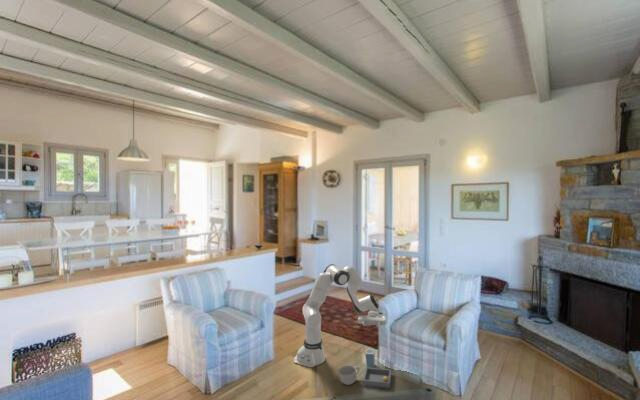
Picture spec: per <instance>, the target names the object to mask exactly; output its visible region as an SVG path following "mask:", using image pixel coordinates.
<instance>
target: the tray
mask: <svg viewBox="0 0 640 400" xmlns="http://www.w3.org/2000/svg"><path fill="white" fill-rule="evenodd" d="M392 374H393V373H392V369H391V368H379V367H375V368H370V367H367V366H366V367H365V371H364V374H363V379H362V386H363V387H368V388H369V387H370V388H378V389H386V388H389V389H388V390H390V389H391V383H392ZM384 376H386V377H387V378H388V381H387V382H384V381H383V377H384Z"/></svg>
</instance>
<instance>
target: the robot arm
mask: <svg viewBox="0 0 640 400" xmlns="http://www.w3.org/2000/svg"><path fill="white" fill-rule="evenodd" d="M333 283H335V284H336V285H338V286H344V285H346V284H347V287H346V290H347V294H348V297H349V299H350V301H351V303H352V305H353V308H354V311H355V312H356V313H357V314H361V315H359V316H358V318H357V324H359V325H361V324H362V325H363V326H364V327H366V325H372V326H373V325H374V326H376V328H379V327H380V326H387V318H386V314H385V313H383V312H381V307H380V305H379V304H380V303H379V300H378V299H377V297H376V296H374V295H372V294H368V295H366V296H364V297H361V298H357V296H356V293H357V291H359V289H360V288H361V287H362V285H363V279H362V276H361V275H360V274H359V273H358V272H357V270H356V269H355V267H353V266H351V265H346V266H344V267H343V268H341V267H340V266H338V265H336V264H333V263H331V264H328V265H327V266H326V267H325V269H324V270H323V272H321V273H319V274H318V275H317V277H316V279H315V281H314V284H313V286H312V289H311V293H310V295H309V297H308V298H307V300H306V301H305V303H304V304H303V306H302V315H303V317H304V321H305V339H304V341H303V343H302V344H303V345H302V346H301V347H300V348H298V350H297V352H296V355H295V357H294V358H293V359H294V360H293V362H295V363H294V364H296V363H297V364H296V365H301V366H304V367H309V368H314V367H316V366H318V365H321V364H323V363H324V362H325V361H326V356H325V353H324V349H323V348H324V347H323V346H324V345H323V338H322V330H321V328H322V327H321V326H322V315H321V312H320V308H321V306H322V305H323V303H325V301H326V299H327V296H328V293H329V290H330V287H331V285H332V284H333ZM366 311H368V312H367V315H364V314H362V313H364V312H366Z"/></svg>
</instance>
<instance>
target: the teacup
mask: <svg viewBox="0 0 640 400" xmlns="http://www.w3.org/2000/svg"><path fill="white" fill-rule="evenodd" d="M359 372H360V367H359V366H358V365H356V366H354V365H350V364H349V365H343V366H341V367H340V368H339V369H338V375H339V380H340V382H341V383H342V384H343V385H345V386H351V385H353V384H354V383H355V382H356V380H357V374H359Z"/></svg>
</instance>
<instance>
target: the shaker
mask: <svg viewBox="0 0 640 400" xmlns="http://www.w3.org/2000/svg"><path fill="white" fill-rule="evenodd" d="M365 363H366V367H370V368H376V359H375V349H366V350H365Z"/></svg>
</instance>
